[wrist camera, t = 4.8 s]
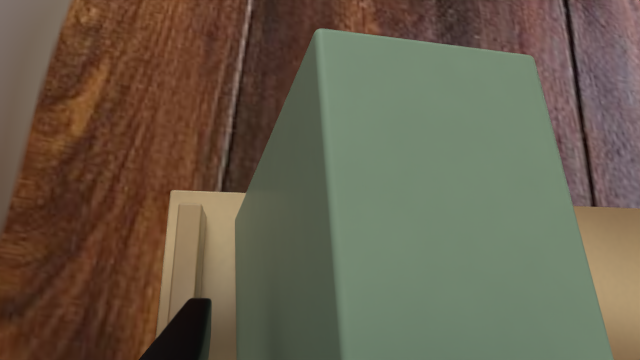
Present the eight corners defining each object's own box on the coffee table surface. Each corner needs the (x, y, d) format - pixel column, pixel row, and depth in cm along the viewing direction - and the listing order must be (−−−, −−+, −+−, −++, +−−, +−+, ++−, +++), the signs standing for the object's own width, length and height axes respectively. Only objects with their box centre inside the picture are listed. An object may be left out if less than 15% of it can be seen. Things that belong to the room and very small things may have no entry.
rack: (737, 489, 18) (824, 520, 15) (137, 555, 13) (112, 615, 11) (663, 213, 21) (723, 199, 19) (173, 194, 17) (161, 173, 14)
